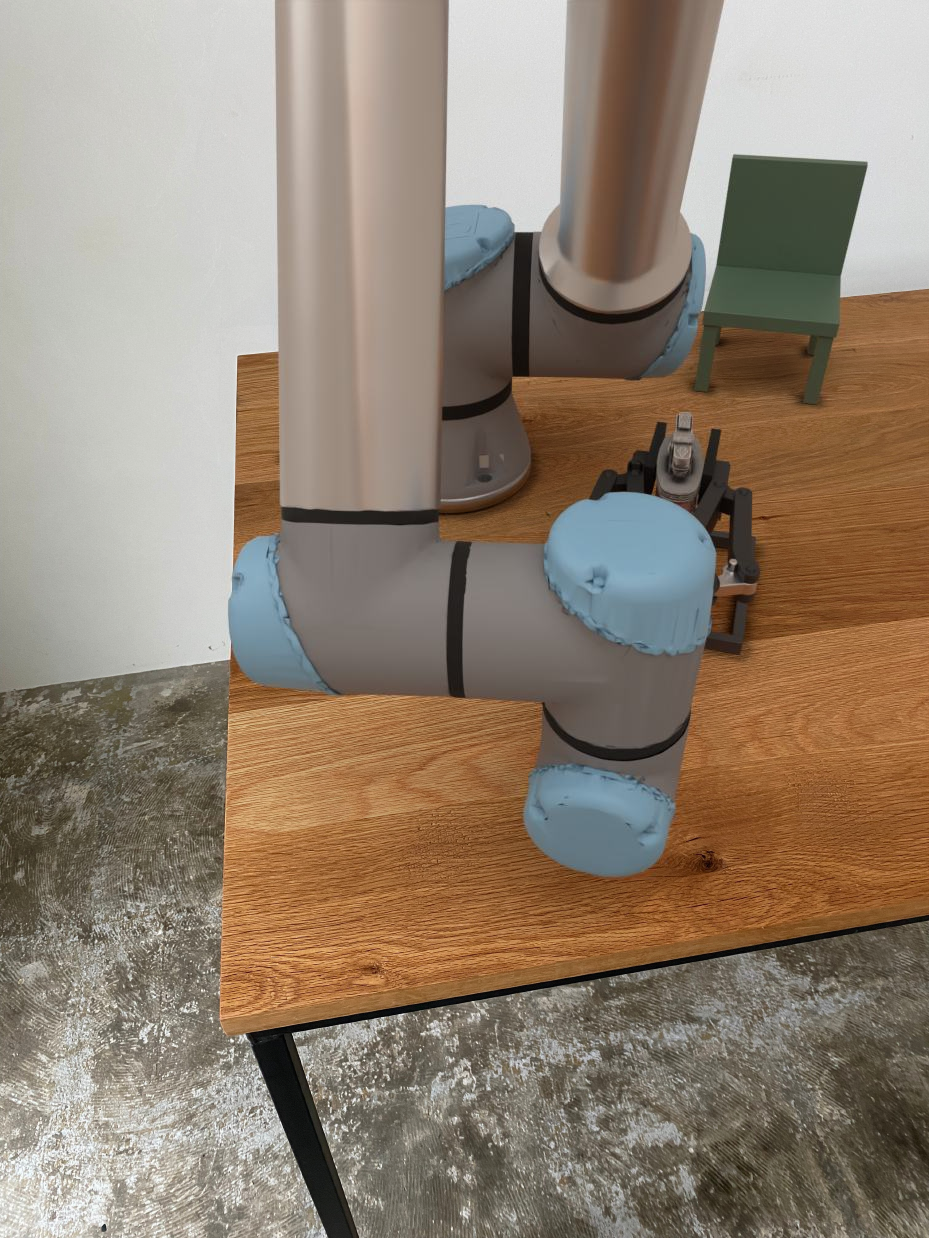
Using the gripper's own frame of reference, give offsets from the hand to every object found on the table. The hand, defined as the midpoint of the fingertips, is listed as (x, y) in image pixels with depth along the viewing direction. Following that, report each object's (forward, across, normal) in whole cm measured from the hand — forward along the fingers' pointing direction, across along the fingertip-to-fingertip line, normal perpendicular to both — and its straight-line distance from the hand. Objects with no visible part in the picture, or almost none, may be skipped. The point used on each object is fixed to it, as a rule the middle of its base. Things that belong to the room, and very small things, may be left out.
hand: (686, 440), depth 74 cm
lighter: (-5, 0, -6) cm, 8 cm away
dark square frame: (-6, 0, -10) cm, 12 cm away
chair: (+33, +5, -10) cm, 35 cm away
